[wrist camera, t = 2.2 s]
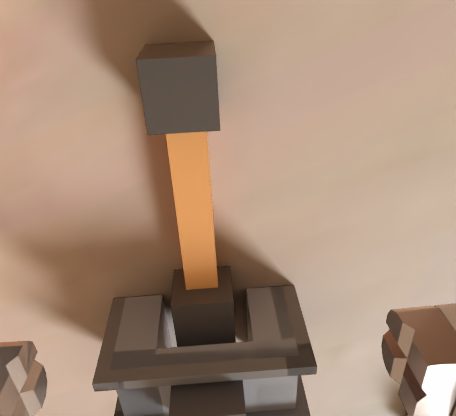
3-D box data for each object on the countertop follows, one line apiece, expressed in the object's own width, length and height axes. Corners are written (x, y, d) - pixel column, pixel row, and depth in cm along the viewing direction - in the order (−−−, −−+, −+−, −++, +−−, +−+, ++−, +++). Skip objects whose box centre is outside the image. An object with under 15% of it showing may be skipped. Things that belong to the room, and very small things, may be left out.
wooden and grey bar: (140, 44, 24) (130, 60, 21) (217, 40, 24) (220, 54, 21) (182, 326, 36) (180, 365, 33) (233, 322, 37) (236, 360, 33)
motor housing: (113, 298, 34) (84, 412, 26) (294, 285, 35) (324, 393, 26) (128, 354, 38) (107, 470, 29) (291, 341, 38) (317, 453, 30)
